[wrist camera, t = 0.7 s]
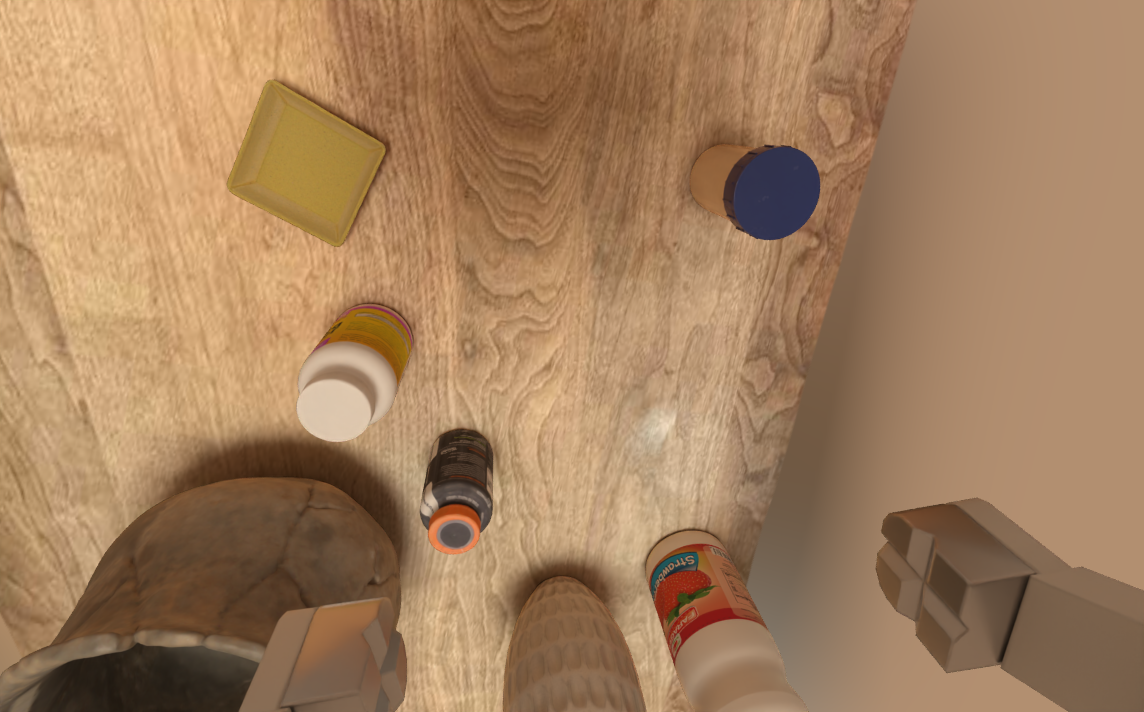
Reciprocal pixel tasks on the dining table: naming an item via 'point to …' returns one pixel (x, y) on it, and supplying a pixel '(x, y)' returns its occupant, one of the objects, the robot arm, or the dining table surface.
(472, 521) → the pill bottle
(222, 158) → the dining table surface
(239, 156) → the yellow square tray
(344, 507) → the pot
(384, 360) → the supplement bottle
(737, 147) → the jar
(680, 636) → the fruit juice
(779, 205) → the lid
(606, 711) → the vase
